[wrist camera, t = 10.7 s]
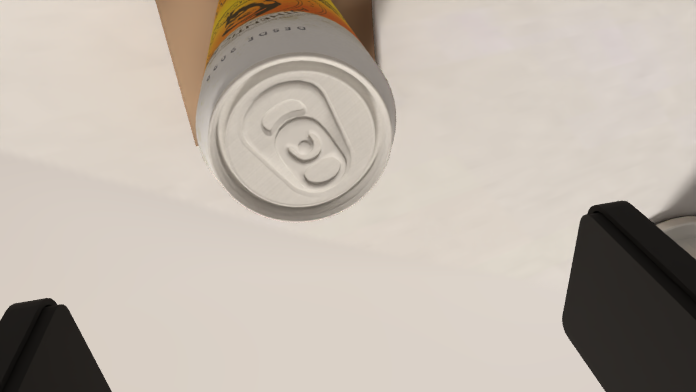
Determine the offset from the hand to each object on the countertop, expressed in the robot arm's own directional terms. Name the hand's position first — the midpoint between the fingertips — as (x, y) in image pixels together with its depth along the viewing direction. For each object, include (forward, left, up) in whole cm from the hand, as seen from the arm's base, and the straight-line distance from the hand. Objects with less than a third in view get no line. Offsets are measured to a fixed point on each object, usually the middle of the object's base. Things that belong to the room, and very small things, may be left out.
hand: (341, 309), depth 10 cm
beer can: (0, 0, -22) cm, 22 cm away
